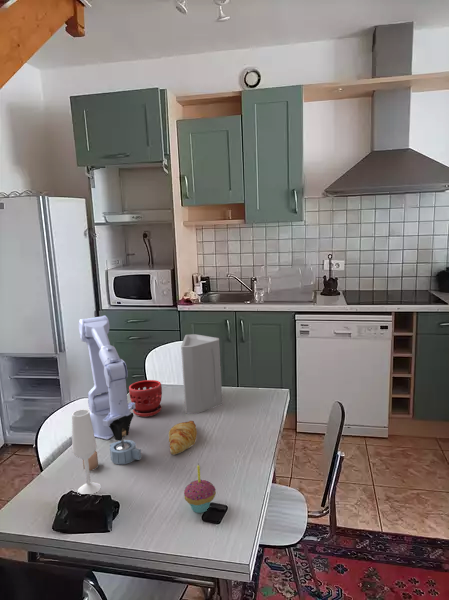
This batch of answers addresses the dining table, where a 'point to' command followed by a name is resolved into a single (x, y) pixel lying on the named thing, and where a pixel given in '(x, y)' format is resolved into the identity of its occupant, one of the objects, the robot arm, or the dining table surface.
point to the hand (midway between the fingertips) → (122, 437)
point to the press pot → (124, 453)
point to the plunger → (123, 445)
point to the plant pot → (146, 397)
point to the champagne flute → (84, 446)
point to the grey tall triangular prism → (201, 373)
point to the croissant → (182, 436)
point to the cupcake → (199, 494)
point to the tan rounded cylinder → (92, 461)
